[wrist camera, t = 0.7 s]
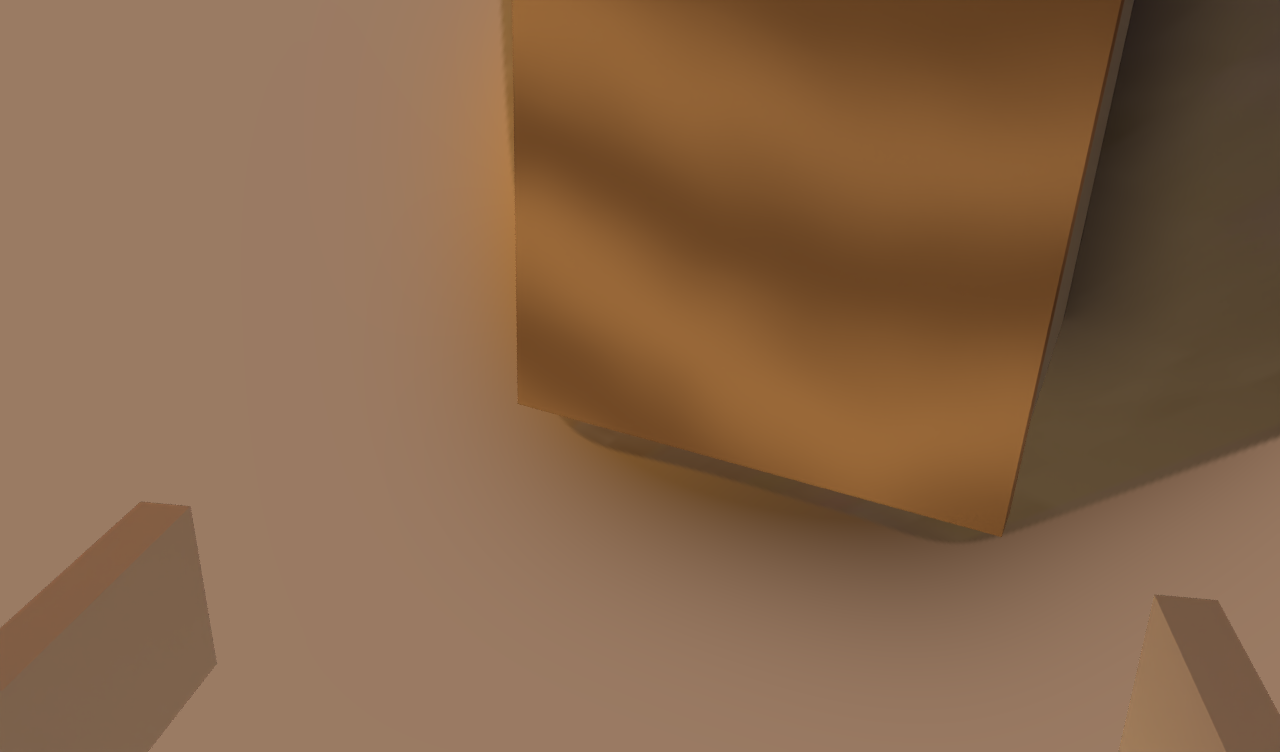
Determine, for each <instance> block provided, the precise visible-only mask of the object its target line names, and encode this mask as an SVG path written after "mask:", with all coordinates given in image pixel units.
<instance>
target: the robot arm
mask: <svg viewBox="0 0 1280 752" xmlns="http://www.w3.org/2000/svg"><path fill="white" fill-rule="evenodd" d="M216 664H217V662H216V656H215V650H214V644H213V638H212V632H211V627H210V620H209V614H208V608H207V602H206V596H205V590H204V584H203V578H202V573H201V566H200V560H199V554H198V548H197V543H196V536H195V531H194V524H193V519H192V513H191V507H190V506H182V505H172V504H161V503H150V502H140V503H138V504H137V505H136V506H135V507H134V508H133V509H132V510H131V511H130V512H129V513H127V514H126V515H125V516H124V517H123V518H122V519H121V520H120V521H119V522H117V523H116V524H115V525H114V526H113V527H112V528H111V529H110V530H109V531H108V532H106V533H105V534H104V535H103V536H102V537H101V538H100V539H99V540H97V541H96V542H95V543H94V544H93V545H92V546H91V547H90V548H89V549H87V550H86V551H85V552H84V553H83V554H82V555H81V556H80V557H79V558H78V559H76V560H75V561H74V562H73V563H72V564H71V565H70V566H69V567H68V568H66V569H65V570H64V571H63V572H62V573H61V574H60V575H59V576H58V577H56V578H55V579H54V580H53V581H52V582H51V583H50V584H49V585H48V586H47V587H45V589H43V590H42V591H41V592H40V593H39V594H38V595H37V596H35V597H34V598H33V599H32V600H31V601H30V602H29V603H28V604H27V605H25V606H24V607H23V608H22V609H21V610H20V611H19V612H18V613H17V614H15V615H14V616H13V617H12V618H11V619H10V620H9V621H8V622H7V623H6V624H4V625H3V626H2V627H1V628H0V752H148V751H149V750H150V749H151V747H152V746H153V744H154V743H155V742H156V741H157V739H158V738H159V737H160V736H161V735H162V733H163V732H164V731H165V729H166V728H167V727H168V726H169V724H170V723H171V721H172V720H173V719H174V718H175V717H176V715H177V714H178V713H179V711H180V710H181V709H182V708H183V706H184V705H185V704H186V702H187V701H188V700H189V699H190V697H191V696H192V695H193V694H194V692H195V691H196V690H197V688H198V687H199V686H200V685H201V683H202V682H203V681H204V679H205V678H206V677H207V676H208V674H209V673H210V672H211V671H212V669H213V668H214V667H215V665H216ZM1119 752H1280V714H1279V713H1278V711H1277V709H1276V707H1275V705H1274V703H1273V701H1272V700H1271V698H1270V696H1269V694H1268V692H1267V690H1266V689H1265V687H1264V685H1263V683H1262V681H1261V679H1260V677H1259V676H1258V674H1257V672H1256V670H1255V668H1254V667H1253V664H1252V663H1251V661H1250V659H1249V658H1248V655H1247V653H1246V652H1245V650H1244V648H1243V646H1242V644H1241V642H1240V640H1239V639H1238V637H1237V635H1236V633H1235V631H1234V629H1233V627H1232V626H1231V624H1230V622H1229V620H1228V618H1227V616H1226V615H1225V613H1224V611H1223V609H1222V607H1221V605H1220V604H1219V602H1218V600H1208V599H1197V598H1186V597H1176V596H1165V595H1154V599H1153V603H1152V607H1151V612H1150V616H1149V621H1148V625H1147V629H1146V634H1145V638H1144V643H1143V647H1142V651H1141V656H1140V660H1139V664H1138V669H1137V673H1136V677H1135V682H1134V686H1133V691H1132V695H1131V699H1130V704H1129V708H1128V712H1127V717H1126V721H1125V725H1124V730H1123V735H1122V739H1121V743H1120V747H1119Z"/></svg>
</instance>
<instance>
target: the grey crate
mask: <svg viewBox="0 0 1280 752" xmlns="http://www.w3.org/2000/svg"><path fill="white" fill-rule="evenodd" d="M1133 3H1134V0H1125V1H1124V5H1123V10H1122V14H1121V19H1120V23H1119V28H1118V32H1117V37H1116V41H1115V46H1114V50H1113V54H1112V59H1111V63H1110V68H1109V72H1108V77H1107V81H1106V86H1105V90H1104V95H1103V99H1102V103H1101V108H1100V112H1099V117H1098V121H1097V126H1096V130H1095V135H1094V139H1093V144H1092V148H1091V153H1090V157H1089V161H1088V166H1087V170H1086V175H1085V179H1084V184H1083V188H1082V193H1081V197H1080V202H1079V206H1078V210H1077V215H1076V219H1075V224H1074V228H1073V233H1072V237H1071V242H1070V246H1069V251H1068V255H1067V260H1066V264H1065V268H1064V273H1063V277H1062V282H1061V286H1060V291H1059V295H1058V300H1057V304H1056V309H1055V313H1054V317H1053V322H1052V326H1051V331H1050V335H1049V340H1048V344H1047V349H1046V353H1045V358H1044V362H1043V366H1042V371H1041V375H1040V380H1039V384H1038V389H1037V393H1036V398H1035V402H1034V407H1033V411H1032V415H1033V412H1034V409H1035V406H1036V403H1037V400H1038V396H1039V393H1040V390H1041V387H1042V384H1043V381H1044V378H1045V375H1046V372H1047V369H1048V366H1049V363H1050V360H1051V357H1052V354H1053V350H1054V347H1055V344H1056V341H1057V338H1058V335H1059V332H1060V329H1061V326H1062V323H1063V319H1064V315H1065V310H1066V306H1067V301H1068V297H1069V292H1070V288H1071V283H1072V279H1073V274H1074V270H1075V265H1076V261H1077V256H1078V252H1079V247H1080V242H1081V238H1082V233H1083V229H1084V224H1085V220H1086V215H1087V211H1088V206H1089V202H1090V197H1091V193H1092V188H1093V184H1094V179H1095V175H1096V170H1097V166H1098V161H1099V157H1100V152H1101V148H1102V143H1103V138H1104V134H1105V129H1106V125H1107V120H1108V116H1109V111H1110V107H1111V102H1112V98H1113V93H1114V89H1115V84H1116V80H1117V75H1118V71H1119V66H1120V62H1121V57H1122V53H1123V48H1124V43H1125V39H1126V34H1127V30H1128V25H1129V21H1130V16H1131V12H1132V7H1133ZM1031 418H1032V416H1031ZM1030 421H1031V420H1030Z"/></svg>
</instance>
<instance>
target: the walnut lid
mask: <svg viewBox="0 0 1280 752" xmlns="http://www.w3.org/2000/svg"><path fill="white" fill-rule="evenodd" d="M1124 1H1125V0H512V13H513V87H514V161H515V235H516V301H517V303H516V304H517V306H516V307H517V376H518V377H517V380H518V381H517V383H518V404H520V405H524V406H528V407H531V408H535V409H539V410H542V411H546V412H550V413H553V414H557V415H560V416H564V417H567V418H571V419H575V420H578V421H582V422H586V423H589V424H593V425H597V426H600V427H604V428H607V429H611V430H615V431H618V432H622V433H626V434H629V435H633V436H637V437H640V438H644V439H647V440H651V441H655V442H658V443H662V444H666V445H669V446H673V447H676V448H680V449H684V450H687V451H691V452H695V453H698V454H702V455H706V456H709V457H713V458H716V459H720V460H724V461H727V462H731V463H735V464H738V465H742V466H746V467H749V468H753V469H756V470H760V471H764V472H767V473H771V474H775V475H778V476H782V477H786V478H789V479H793V480H796V481H800V482H804V483H807V484H811V485H815V486H818V487H822V488H825V489H829V490H833V491H836V492H840V493H844V494H847V495H851V496H855V497H858V498H862V499H865V500H869V501H873V502H876V503H880V504H884V505H887V506H891V507H895V508H898V509H902V510H905V511H909V512H913V513H916V514H920V515H924V516H927V517H931V518H935V519H938V520H942V521H945V522H949V523H953V524H956V525H960V526H964V527H967V528H971V529H974V530H978V531H982V532H985V533H989V534H993V535H996V536H1000V537H1002V534H1003V531H1004V528H1005V525H1006V523H1007V520H1008V517H1009V514H1010V509H1011V505H1012V500H1013V496H1014V491H1015V487H1016V482H1017V478H1018V473H1019V469H1020V465H1021V460H1022V456H1023V451H1024V447H1025V442H1026V438H1027V433H1028V429H1029V424H1030V420H1031V416H1032V411H1033V407H1034V402H1035V398H1036V393H1037V389H1038V384H1039V380H1040V375H1041V371H1042V366H1043V362H1044V358H1045V353H1046V349H1047V344H1048V340H1049V335H1050V331H1051V326H1052V322H1053V317H1054V313H1055V309H1056V304H1057V300H1058V295H1059V291H1060V286H1061V282H1062V277H1063V273H1064V268H1065V264H1066V260H1067V255H1068V251H1069V246H1070V242H1071V237H1072V233H1073V228H1074V224H1075V219H1076V215H1077V210H1078V206H1079V202H1080V197H1081V193H1082V188H1083V184H1084V179H1085V175H1086V170H1087V166H1088V161H1089V157H1090V153H1091V148H1092V144H1093V139H1094V135H1095V130H1096V126H1097V121H1098V117H1099V112H1100V108H1101V103H1102V99H1103V95H1104V90H1105V86H1106V81H1107V77H1108V72H1109V68H1110V63H1111V59H1112V54H1113V50H1114V46H1115V41H1116V37H1117V32H1118V28H1119V23H1120V19H1121V14H1122V10H1123V5H1124Z"/></svg>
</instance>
